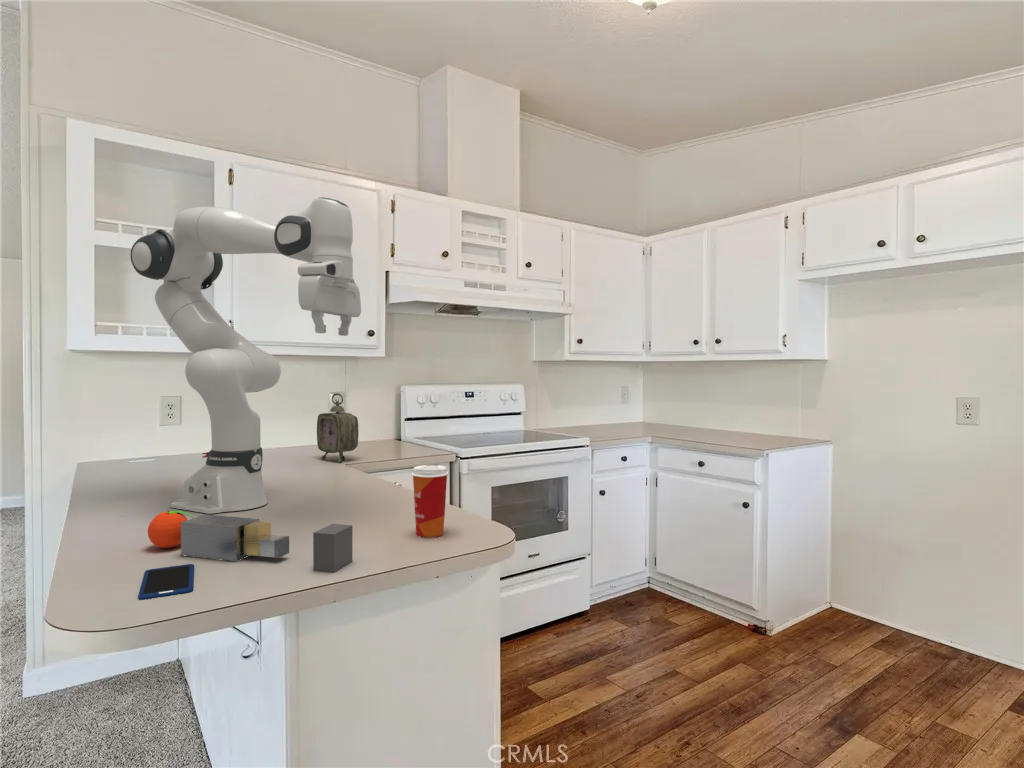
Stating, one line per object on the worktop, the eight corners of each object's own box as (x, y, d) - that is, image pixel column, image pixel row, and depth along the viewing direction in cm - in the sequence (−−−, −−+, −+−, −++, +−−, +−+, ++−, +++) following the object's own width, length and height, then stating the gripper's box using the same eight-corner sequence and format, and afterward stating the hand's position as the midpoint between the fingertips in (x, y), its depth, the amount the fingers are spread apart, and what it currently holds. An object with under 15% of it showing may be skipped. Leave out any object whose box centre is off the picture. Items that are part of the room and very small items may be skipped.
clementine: (196, 539, 119) (195, 504, 118) (195, 549, 112) (195, 512, 112) (149, 544, 115) (149, 508, 115) (146, 555, 109) (145, 516, 109)
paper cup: (415, 528, 128) (415, 464, 127) (450, 529, 127) (450, 464, 127) (407, 539, 120) (407, 470, 119) (445, 539, 120) (445, 471, 119)
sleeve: (181, 555, 108) (180, 522, 108) (205, 546, 114) (205, 514, 114) (236, 561, 105) (236, 527, 105) (259, 551, 111) (259, 519, 111)
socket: (313, 570, 101) (313, 532, 101) (332, 559, 107) (332, 523, 107) (334, 572, 100) (334, 534, 100) (352, 561, 106) (352, 525, 106)
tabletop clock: (316, 460, 220) (316, 392, 219) (338, 457, 227) (338, 392, 226) (338, 464, 211) (338, 394, 210) (360, 461, 217) (360, 393, 217)
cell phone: (137, 603, 88) (137, 598, 88) (145, 573, 100) (145, 569, 100) (193, 594, 91) (193, 589, 91) (194, 567, 103) (194, 562, 103)
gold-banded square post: (188, 549, 109) (188, 520, 109) (202, 543, 113) (202, 516, 112) (277, 558, 104) (277, 528, 104) (289, 552, 108) (289, 523, 108)
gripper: (343, 279, 143) (343, 337, 143) (292, 265, 123) (292, 331, 123) (367, 278, 141) (367, 336, 141) (319, 264, 121) (319, 331, 122)
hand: (332, 334), depth 132 cm, fingers open, 8 cm apart
